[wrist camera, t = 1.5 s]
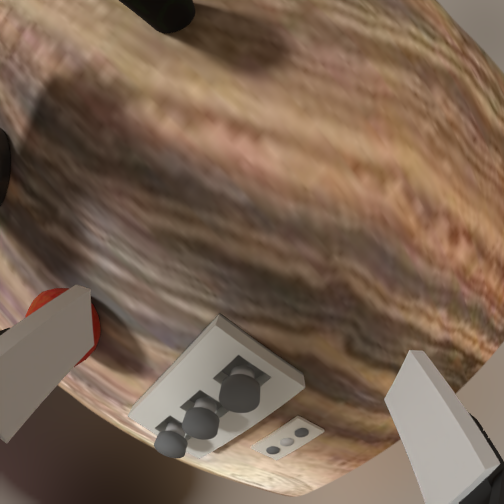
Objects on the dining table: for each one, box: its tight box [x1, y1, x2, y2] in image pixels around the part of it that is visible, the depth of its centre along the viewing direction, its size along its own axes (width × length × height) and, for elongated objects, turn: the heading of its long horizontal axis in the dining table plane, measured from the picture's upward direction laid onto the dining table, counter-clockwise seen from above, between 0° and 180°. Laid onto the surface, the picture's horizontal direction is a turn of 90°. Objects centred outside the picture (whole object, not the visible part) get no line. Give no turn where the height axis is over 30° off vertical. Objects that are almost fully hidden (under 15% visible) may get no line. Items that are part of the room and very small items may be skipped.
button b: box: [182, 397, 220, 440], centre depth 33 cm, size 5×5×5 cm
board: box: [128, 313, 305, 459], centre depth 36 cm, size 14×24×3 cm, turn 140°
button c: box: [154, 421, 188, 458], centre depth 35 cm, size 5×5×5 cm
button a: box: [219, 365, 260, 413], centre depth 32 cm, size 5×5×5 cm
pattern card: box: [251, 416, 324, 460], centre depth 39 cm, size 6×11×1 cm, turn 140°
